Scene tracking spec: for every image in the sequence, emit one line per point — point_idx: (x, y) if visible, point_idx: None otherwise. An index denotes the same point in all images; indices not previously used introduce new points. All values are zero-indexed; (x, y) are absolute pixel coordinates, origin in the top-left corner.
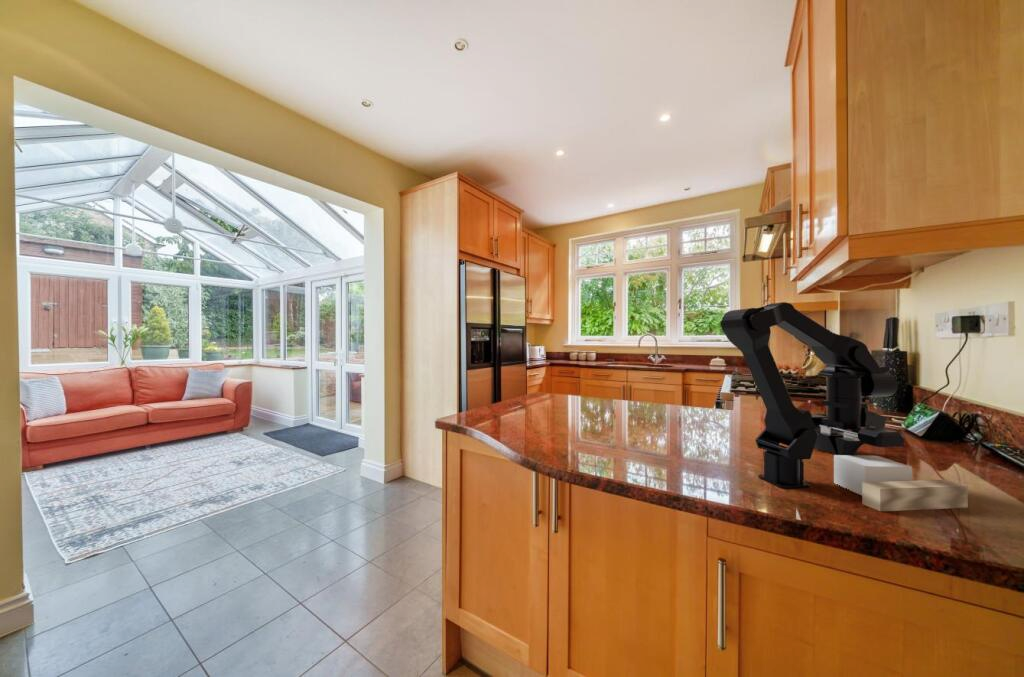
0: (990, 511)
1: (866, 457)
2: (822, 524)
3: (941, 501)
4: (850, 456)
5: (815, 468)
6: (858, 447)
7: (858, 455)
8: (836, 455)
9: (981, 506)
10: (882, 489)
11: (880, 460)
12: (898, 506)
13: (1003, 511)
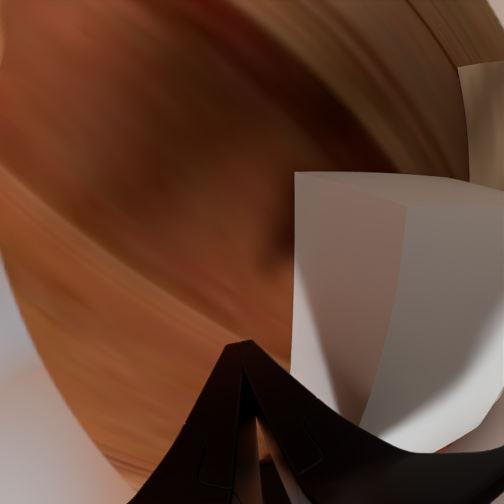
0: (496, 47)
1: (427, 368)
2: (442, 448)
3: None
4: None
5: (69, 329)
6: (393, 451)
7: (370, 397)
8: None
9: (472, 20)
10: (500, 392)
11: (492, 310)
12: None
13: (487, 13)
